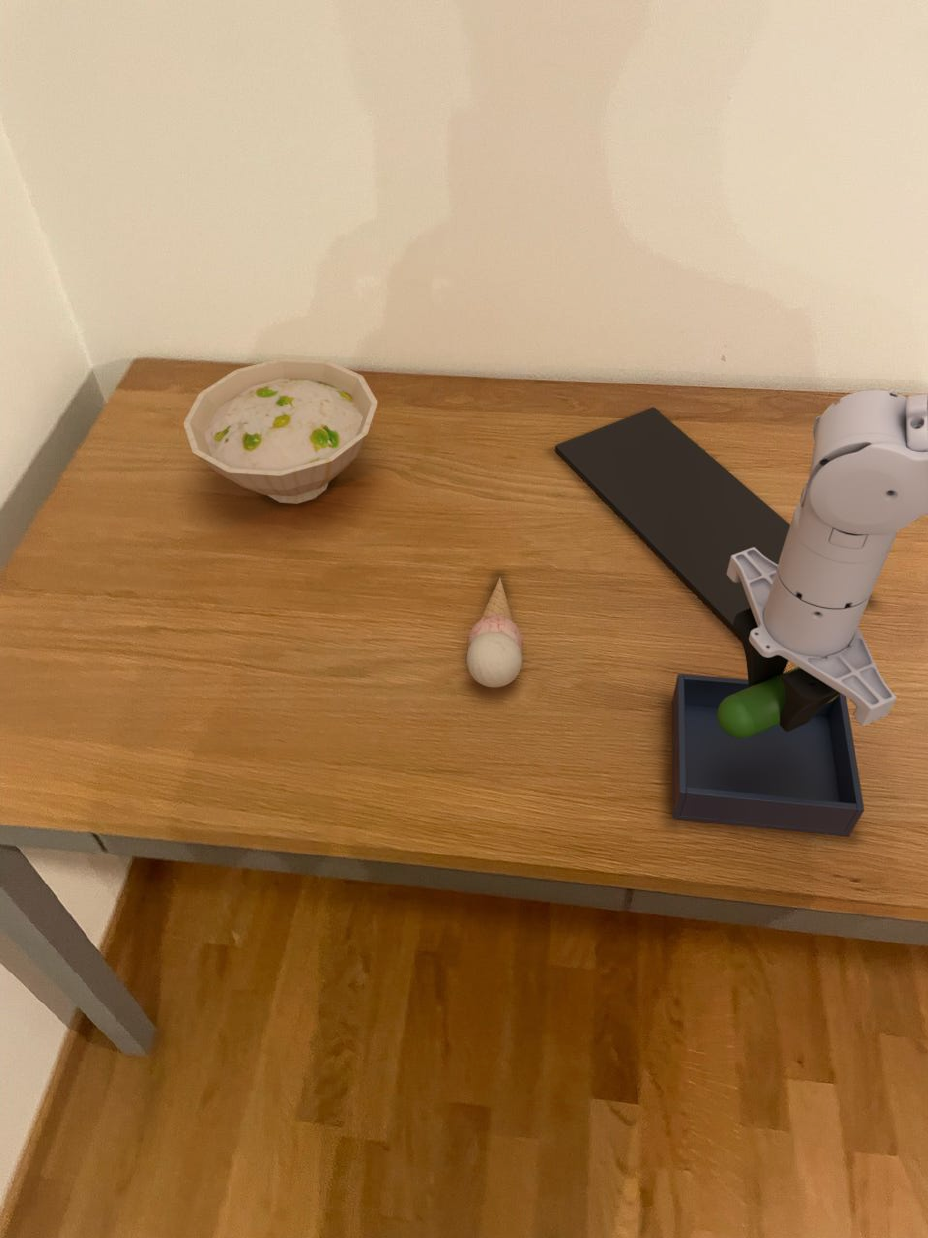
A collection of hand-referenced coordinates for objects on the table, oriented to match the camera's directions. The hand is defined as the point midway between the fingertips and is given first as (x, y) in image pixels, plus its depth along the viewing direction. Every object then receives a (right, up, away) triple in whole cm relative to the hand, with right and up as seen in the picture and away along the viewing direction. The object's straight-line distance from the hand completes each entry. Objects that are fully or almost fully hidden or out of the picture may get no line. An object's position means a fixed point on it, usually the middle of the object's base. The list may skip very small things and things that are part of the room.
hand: (778, 704), depth 67 cm
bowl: (-41, +21, +31) cm, 55 cm away
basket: (0, -5, +6) cm, 8 cm away
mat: (+1, +16, +25) cm, 30 cm away
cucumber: (0, 0, -1) cm, 1 cm away
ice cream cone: (-19, +4, +16) cm, 25 cm away
